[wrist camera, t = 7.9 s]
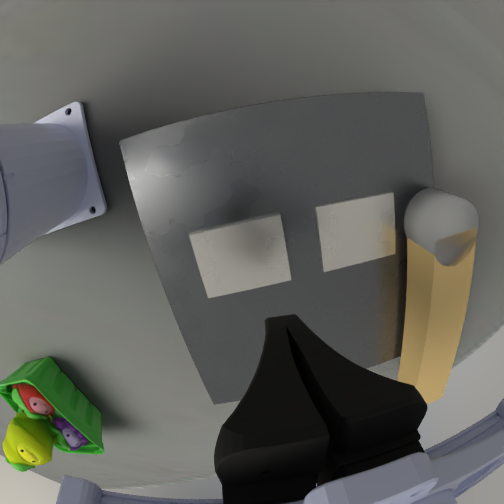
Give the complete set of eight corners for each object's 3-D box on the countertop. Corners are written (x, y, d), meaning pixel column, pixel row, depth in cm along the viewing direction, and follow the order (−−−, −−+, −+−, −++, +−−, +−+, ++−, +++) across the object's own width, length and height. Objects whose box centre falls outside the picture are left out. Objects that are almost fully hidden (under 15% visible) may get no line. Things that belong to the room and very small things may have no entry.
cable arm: (401, 193, 15) (432, 205, 13) (448, 183, 15) (479, 194, 13) (393, 391, 22) (406, 414, 20) (429, 375, 22) (443, 396, 19)
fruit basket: (117, 418, 26) (97, 503, 15) (68, 423, 26) (44, 493, 16) (50, 343, 22) (-1, 432, 11) (8, 357, 22) (-36, 427, 12)
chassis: (214, 378, 24) (213, 408, 21) (135, 140, 16) (115, 141, 13) (409, 327, 24) (427, 349, 21) (404, 96, 17) (433, 92, 13)
